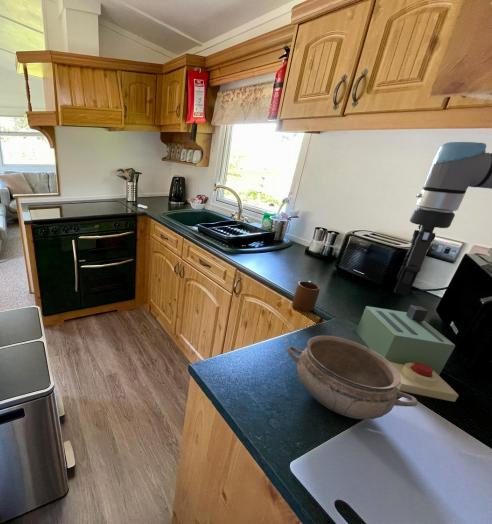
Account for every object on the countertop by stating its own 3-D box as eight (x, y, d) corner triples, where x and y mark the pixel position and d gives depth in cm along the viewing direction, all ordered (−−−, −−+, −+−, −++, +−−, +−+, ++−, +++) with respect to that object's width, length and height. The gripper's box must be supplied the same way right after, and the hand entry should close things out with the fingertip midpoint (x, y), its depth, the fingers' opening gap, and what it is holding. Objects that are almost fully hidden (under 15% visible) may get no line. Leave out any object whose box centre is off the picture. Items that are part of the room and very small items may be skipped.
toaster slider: (417, 316, 89) (421, 306, 88) (423, 321, 87) (428, 311, 85) (405, 314, 90) (410, 304, 89) (411, 319, 87) (416, 309, 86)
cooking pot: (267, 395, 69) (280, 353, 64) (288, 357, 83) (299, 320, 78) (403, 466, 54) (430, 418, 50) (400, 405, 68) (421, 364, 64)
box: (430, 376, 79) (436, 364, 78) (454, 402, 71) (462, 389, 69) (380, 367, 81) (385, 355, 80) (398, 390, 73) (405, 378, 72)
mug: (295, 296, 120) (300, 276, 117) (315, 302, 117) (322, 281, 113) (290, 307, 111) (296, 285, 108) (312, 314, 107) (319, 291, 104)
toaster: (403, 339, 95) (415, 313, 92) (439, 375, 80) (455, 345, 76) (355, 331, 98) (366, 305, 94) (381, 364, 83) (395, 334, 79)
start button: (424, 369, 76) (427, 364, 75) (433, 378, 73) (436, 373, 72) (408, 366, 77) (411, 361, 76) (417, 375, 73) (419, 370, 73)
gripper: (415, 203, 82) (387, 271, 90) (414, 211, 65) (380, 295, 73) (451, 207, 78) (419, 279, 85) (461, 218, 60) (420, 306, 68)
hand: (401, 286), depth 79 cm, fingers open, 13 cm apart
